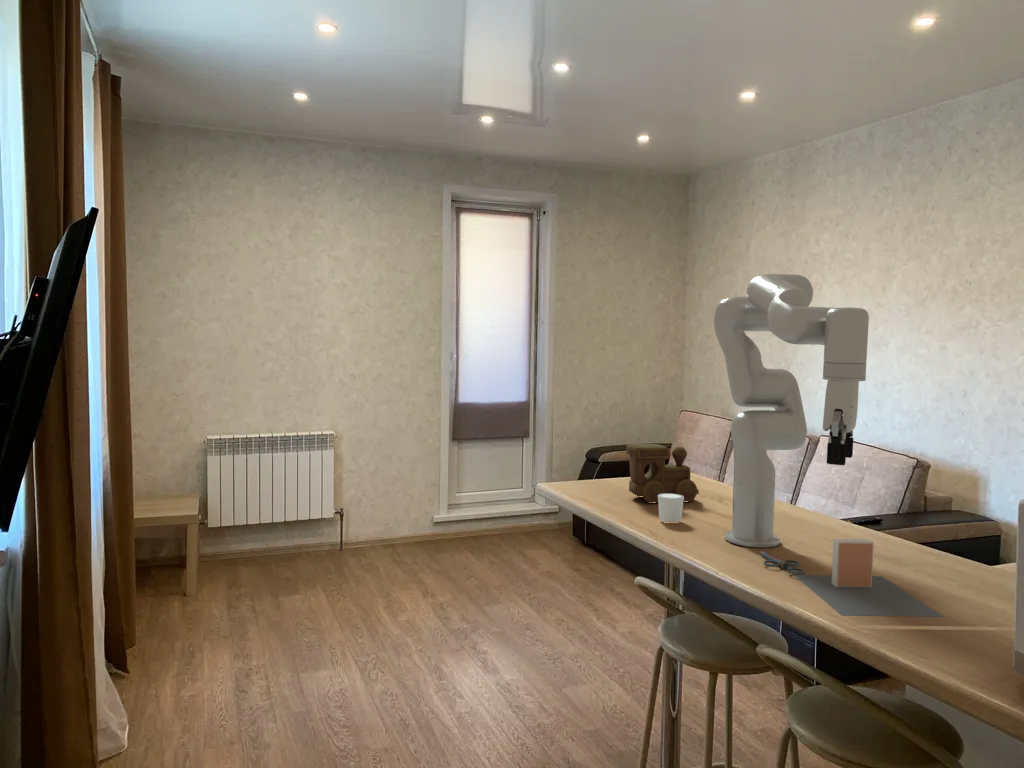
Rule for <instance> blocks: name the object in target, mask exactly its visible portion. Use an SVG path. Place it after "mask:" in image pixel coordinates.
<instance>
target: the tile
mask: <svg viewBox="0 0 1024 768" xmlns="http://www.w3.org/2000/svg"><path fill="white" fill-rule="evenodd" d="M874 543H875V542H874V541H873V540H871V539H869V538H868V539H867V538H862V539H861V538H860V539H859V538H833V540H832V560H831V561H832V565H831V575H832V584H833V585H834V586H835V587H872V576H873V566H874V565H873V563H874V546H875V545H874Z"/></svg>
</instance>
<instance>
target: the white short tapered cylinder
mask: <svg viewBox="0 0 1024 768" xmlns="http://www.w3.org/2000/svg"><path fill="white" fill-rule="evenodd" d="M683 502H684V496H682V495H679V494H672V493H663V494H659V495H658V503H657V504H658V516H659V517H658V518H659V519H660V520H661V521H665V522H680V521H681V522H682V518H683V510H684V509H683V508H684V503H683Z"/></svg>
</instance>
